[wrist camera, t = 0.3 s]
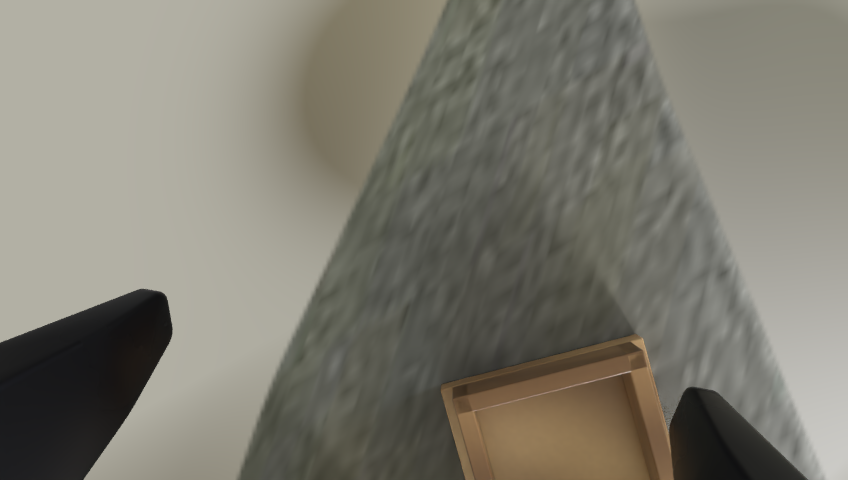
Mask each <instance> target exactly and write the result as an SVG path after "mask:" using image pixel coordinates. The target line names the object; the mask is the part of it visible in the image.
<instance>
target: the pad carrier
mask: <svg viewBox="0 0 848 480" xmlns="http://www.w3.org/2000/svg"><path fill="white" fill-rule="evenodd" d="M441 394H442V397H443V401H444V405H445V408H446V412H447V415H448V419H449V422H450V426H451V430H452V433H453V437H454V440H455V444H456V447H457V451H458V455H459V458H460V462H461V465H462V469H463V473H464V476H465V480H674V477H673V468H672V458H671V448H670V438H669V433H668V430H667V426H666V422H665V419H664V415H663V411H662V407H661V404H660V400H659V396H658V393H657V389H656V385H655V381H654V378H653V374H652V370H651V367H650V363H649V359H648V356H647V352H646V348H645V344H644V341H643V338H642V337H640V336H638V335H637V334H635V335H631V336H627V337H623V338H619V339H615V340H611V341H607V342H604V343H600V344H596V345H592V346H588V347H584V348H580V349H577V350H573V351H569V352H565V353H561V354H557V355H553V356H549V357H546V358H542V359H538V360H534V361H530V362H526V363H522V364H518V365H515V366H511V367H507V368H503V369H499V370H495V371H491V372H487V373H484V374H480V375H476V376H472V377H468V378H464V379H460V380H456V381H453V382H449V383H445V384H442V385H441Z"/></svg>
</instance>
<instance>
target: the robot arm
mask: <svg viewBox="0 0 848 480" xmlns="http://www.w3.org/2000/svg"><path fill="white" fill-rule="evenodd" d="M171 337H172V323H171V317H170V311H169V306H168V300H167V297H166V296H165V294H163V293H162V292H159V291H153V290H148V289H139V290H136V291H133V292H131V293H128V294H126V295H124V296H120V297H118V298H116V299H113V300H110V301H107V302H105V303H102V304H100V305H97V306H94V307H92V308H89V309H87V310H84V311H82V312H79V313H77V314H74V315H71V316H69V317H66V318H64V319H61V320H58V321H55V322H53V323H50V324H48V325H45V326H43V327H40V328H37V329H35V330H32V331H29V332H27V333H24V334H22V335H19V336H17V337H14V338H11V339H9V340H6V341H3V342H1V343H0V480H83V479H84V478H85V476H86V475H87V474H88V472H89V471H90V469H91V468H92V466H93V465H94V463H95V462H96V461H97V459H98V458H99V457H100V455H101V454H102V452H103V451H104V449H105V448H106V447H107V445H108V444H109V442H110V441H111V439H112V438H113V437H114V435H115V434H116V432H117V431H118V429H119V428H120V427H121V425H122V424H123V422H124V421H125V419H126V418H127V416H128V415H129V413H130V411H131V410H132V408H133V406H134V405H135V403H136V401H137V400H138V398H139V396H140V394H141V392H142V391H143V389H144V387H145V385H146V384H147V382H148V380H149V378H150V376H151V375H152V373H153V371H154V369H155V367H156V366H157V364H158V362H159V360H160V358H161V357H162V355H163V353H164V351H165V350H166V348H167V346H168V344H169V342H170V340H171ZM669 438H670V448H671V458H672V468H673V477H674V480H808V479H807V478H806V477H805V476H804V475H802V474H801V473H800V472H799V471H798V470H797V469H796V468H795V467H794V466H793V465H792V464H791V463H790V462H789V461H788V460H787V459H786V458H785V457H784V456H783V455H782V454H781V453H780V452H779V451H778V450H776V449H775V448H774V447H773V446H772V445H771V444H770V443H769V442H768V441H767V440H766V439H765V438H764V437H763V436H762V435H761V434H760V433H759V432H758V431H757V430H756V429H755V428H754V427H753V426H752V425H750V424H749V423H748V422H747V421H746V420H745V419H744V418H743V417H742V416H741V415H740V414H739V413H738V412H737V411H736V410H735V409H734V408H733V407H732V406H731V405H730V404H729V403H728V402H727V401H726V400H725V399H723V398H722V397H721V396H720V395H719V394H718V393H717V392H715V391H713V390H708V389H703V388H697V387H689V388H687V389H686V390H685V391H684V393H683V395H682V397H681V400H680V402H679V404H678V407H677V409H676V411H675V413H674V416H673V418H672V420H671V423H670V429H669Z"/></svg>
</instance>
